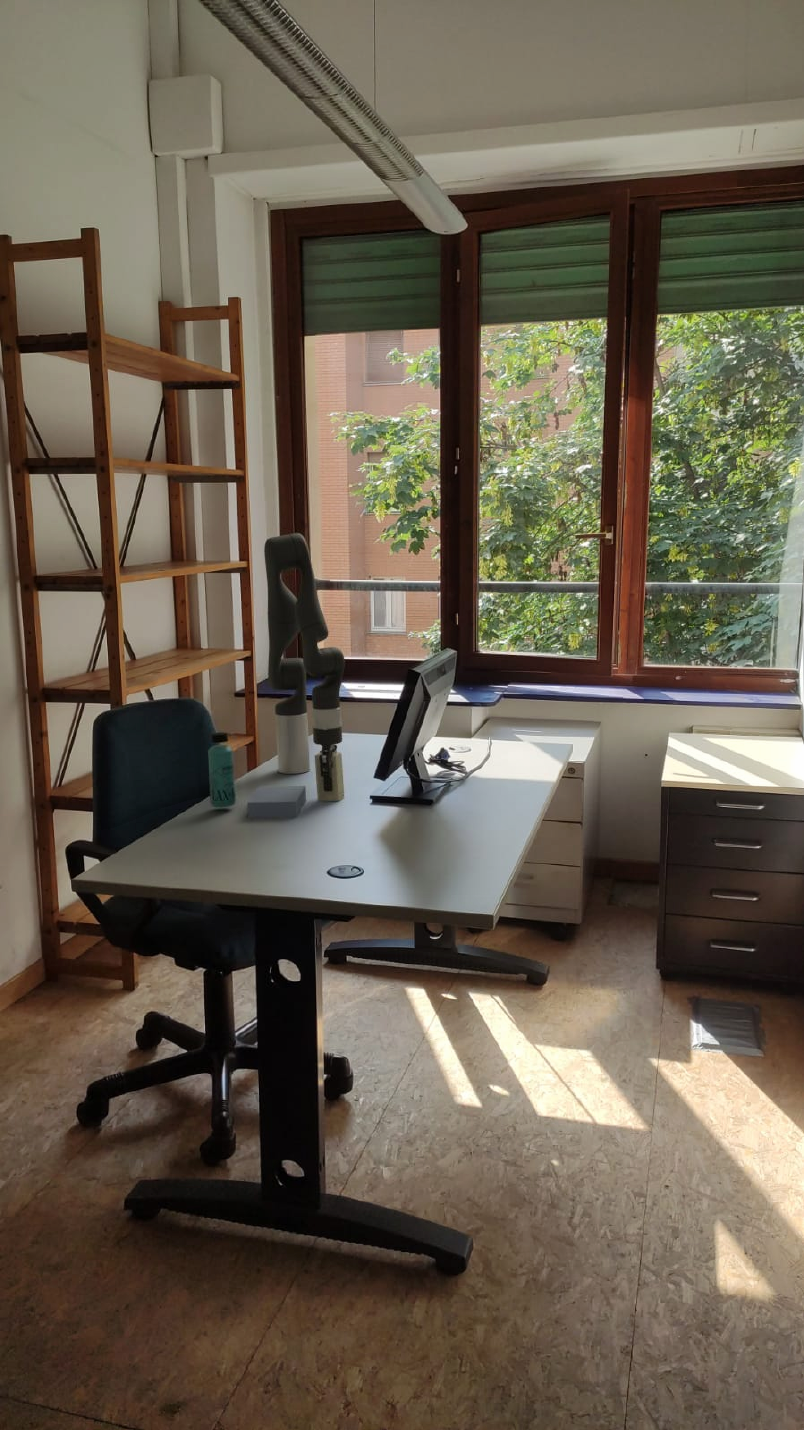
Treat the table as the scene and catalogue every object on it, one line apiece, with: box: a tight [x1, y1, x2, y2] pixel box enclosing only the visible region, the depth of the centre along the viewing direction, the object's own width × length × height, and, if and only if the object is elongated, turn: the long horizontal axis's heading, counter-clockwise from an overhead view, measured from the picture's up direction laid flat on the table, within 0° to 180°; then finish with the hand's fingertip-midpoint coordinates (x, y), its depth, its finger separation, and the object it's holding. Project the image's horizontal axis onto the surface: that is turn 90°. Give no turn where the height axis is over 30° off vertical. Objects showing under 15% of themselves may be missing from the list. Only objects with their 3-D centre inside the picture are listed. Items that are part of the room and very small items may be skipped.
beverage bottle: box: [207, 731, 237, 808], centre depth 268 cm, size 6×7×20 cm
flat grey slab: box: [247, 785, 307, 820], centre depth 268 cm, size 16×12×4 cm
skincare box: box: [314, 752, 345, 802], centre depth 275 cm, size 6×4×12 cm
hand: (330, 788), depth 276 cm, fingers open, 5 cm apart
